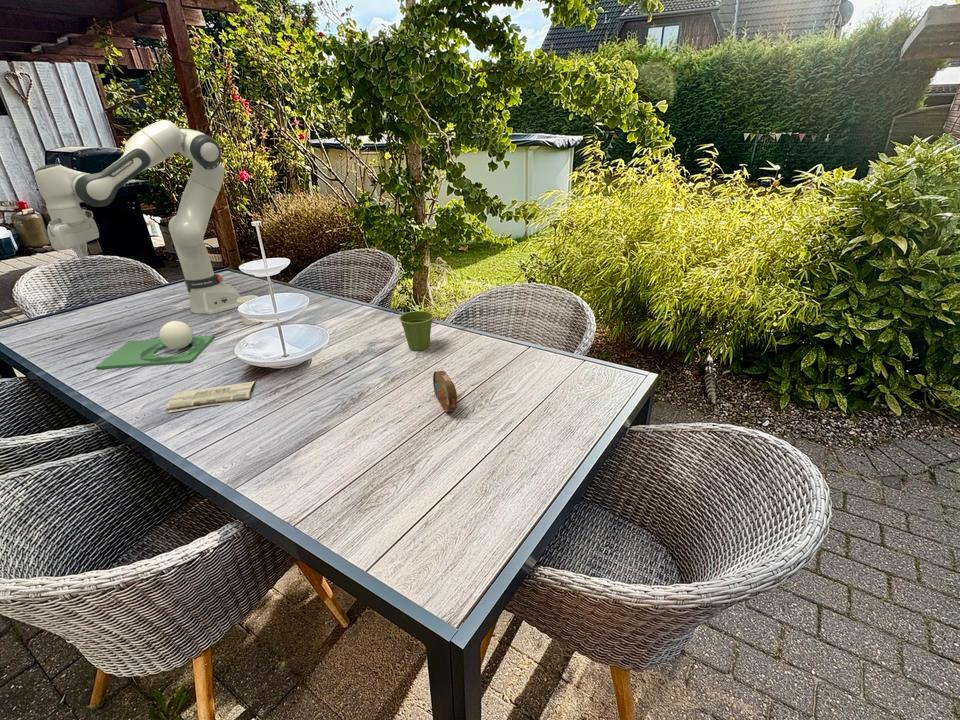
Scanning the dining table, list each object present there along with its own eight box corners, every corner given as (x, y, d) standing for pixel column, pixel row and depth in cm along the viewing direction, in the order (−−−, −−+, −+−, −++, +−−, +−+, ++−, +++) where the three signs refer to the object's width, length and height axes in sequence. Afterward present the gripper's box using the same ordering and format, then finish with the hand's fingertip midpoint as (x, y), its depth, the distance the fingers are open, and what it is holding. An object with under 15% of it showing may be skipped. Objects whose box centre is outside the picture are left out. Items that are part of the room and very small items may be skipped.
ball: (183, 329, 179) (189, 353, 176) (152, 328, 171) (158, 354, 168) (193, 316, 173) (199, 341, 171) (162, 315, 165) (168, 341, 163)
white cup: (267, 318, 197) (262, 295, 192) (257, 326, 190) (251, 302, 185) (249, 318, 198) (243, 295, 193) (238, 325, 191) (232, 301, 186)
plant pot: (438, 339, 173) (436, 310, 168) (432, 354, 163) (430, 323, 158) (406, 339, 175) (403, 310, 170) (398, 353, 164) (394, 322, 159)
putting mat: (96, 369, 159) (95, 366, 159) (130, 343, 178) (129, 340, 177) (191, 362, 162) (190, 360, 161) (214, 337, 181) (214, 335, 180)
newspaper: (165, 416, 134) (162, 408, 133) (180, 398, 145) (177, 390, 144) (252, 403, 138) (250, 395, 137) (260, 387, 149) (258, 379, 148)
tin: (433, 392, 140) (430, 366, 137) (443, 389, 141) (441, 364, 138) (448, 418, 128) (446, 391, 124) (459, 416, 129) (458, 388, 125)
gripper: (56, 221, 154) (74, 264, 160) (95, 211, 172) (109, 249, 178) (35, 222, 153) (54, 265, 159) (76, 211, 171) (91, 250, 177)
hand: (83, 257), depth 169 cm, fingers closed
